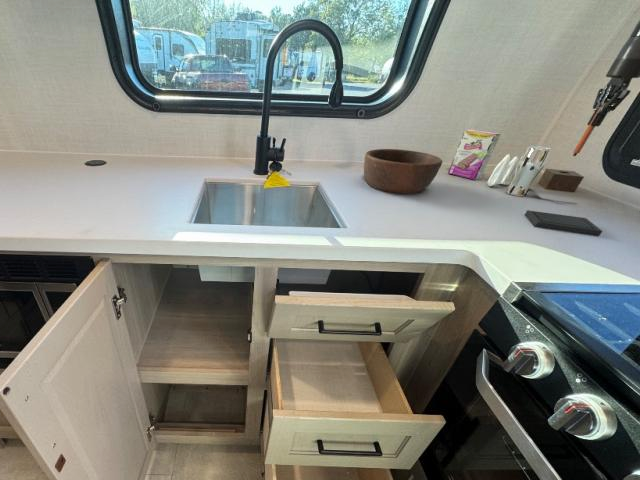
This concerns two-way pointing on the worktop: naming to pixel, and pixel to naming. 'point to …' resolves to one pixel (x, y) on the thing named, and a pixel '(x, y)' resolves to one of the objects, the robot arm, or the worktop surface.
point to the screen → (562, 220)
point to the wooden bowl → (400, 170)
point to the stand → (560, 180)
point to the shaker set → (503, 171)
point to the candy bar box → (473, 154)
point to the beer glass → (528, 169)
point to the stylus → (584, 138)
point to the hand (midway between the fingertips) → (592, 125)
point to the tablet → (561, 227)
